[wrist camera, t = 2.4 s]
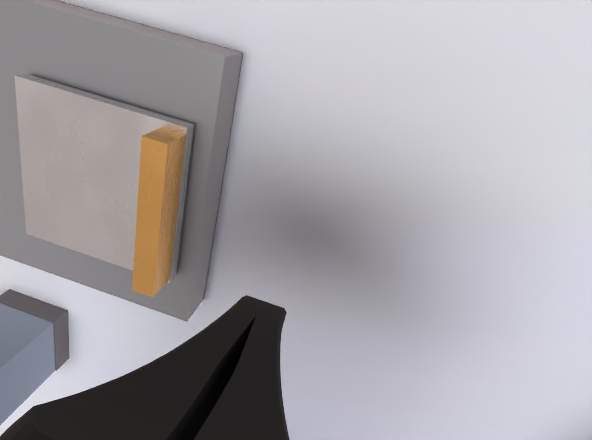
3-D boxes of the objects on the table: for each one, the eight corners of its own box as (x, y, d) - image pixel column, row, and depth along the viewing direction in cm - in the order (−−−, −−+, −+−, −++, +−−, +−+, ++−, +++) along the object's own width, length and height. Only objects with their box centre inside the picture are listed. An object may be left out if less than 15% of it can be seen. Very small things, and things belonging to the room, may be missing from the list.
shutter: (175, 276, 21) (152, 302, 19) (35, 228, 21) (0, 248, 19) (194, 124, 17) (167, 137, 15) (26, 73, 18) (-18, 80, 16)
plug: (69, 357, 29) (-8, 434, 23) (14, 337, 29) (-74, 408, 24) (68, 310, 27) (-16, 382, 21) (9, 289, 27) (-87, 354, 22)
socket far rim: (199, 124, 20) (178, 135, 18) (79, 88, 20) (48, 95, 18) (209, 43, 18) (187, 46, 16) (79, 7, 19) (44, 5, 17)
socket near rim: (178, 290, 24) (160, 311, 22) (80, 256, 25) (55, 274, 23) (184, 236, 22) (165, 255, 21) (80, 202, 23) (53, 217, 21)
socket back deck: (80, 256, 25) (55, 274, 23) (-27, 219, 25) (-60, 234, 24) (79, 7, 19) (44, 5, 17) (-62, -33, 19) (-109, -38, 18)
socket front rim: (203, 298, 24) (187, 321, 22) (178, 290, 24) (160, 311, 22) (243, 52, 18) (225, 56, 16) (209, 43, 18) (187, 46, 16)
